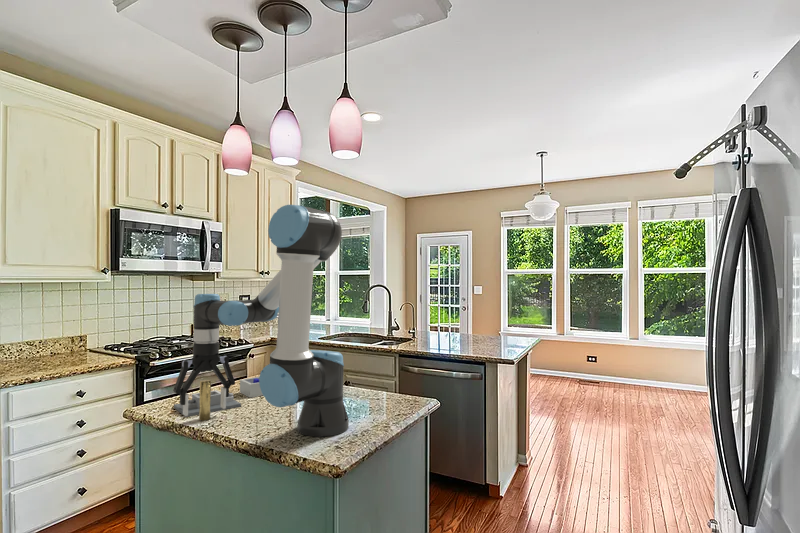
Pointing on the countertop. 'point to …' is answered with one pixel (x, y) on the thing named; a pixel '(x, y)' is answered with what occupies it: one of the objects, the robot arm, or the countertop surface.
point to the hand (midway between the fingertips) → (204, 411)
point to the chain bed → (214, 404)
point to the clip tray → (250, 387)
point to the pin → (205, 400)
